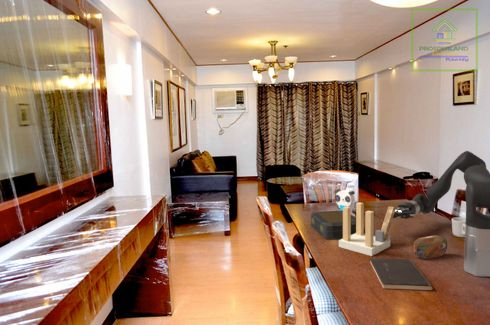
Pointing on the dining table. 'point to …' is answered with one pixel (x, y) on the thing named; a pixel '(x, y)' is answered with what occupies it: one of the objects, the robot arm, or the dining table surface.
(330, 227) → the cash box
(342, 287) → the dining table surface
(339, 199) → the panda figurine
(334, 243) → the dining table surface
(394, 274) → the hardcover book
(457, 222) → the cup
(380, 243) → the stool
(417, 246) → the tin
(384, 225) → the leg
